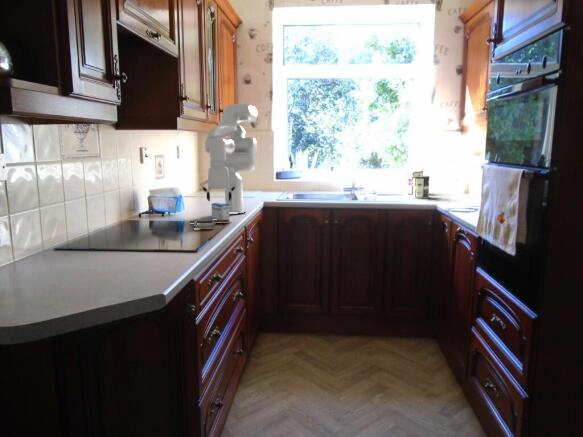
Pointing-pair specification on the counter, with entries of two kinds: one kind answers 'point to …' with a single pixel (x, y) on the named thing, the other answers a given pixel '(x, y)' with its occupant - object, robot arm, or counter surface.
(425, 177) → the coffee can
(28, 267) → the counter surface
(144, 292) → the counter surface
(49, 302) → the counter surface
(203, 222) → the grey shallow tray
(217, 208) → the medicine box
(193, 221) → the door-edge strip
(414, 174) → the candy bar box
